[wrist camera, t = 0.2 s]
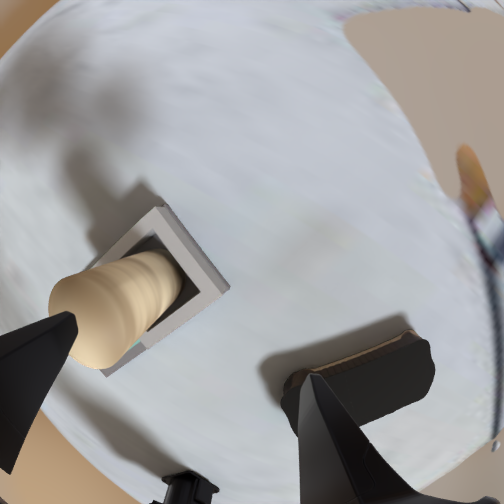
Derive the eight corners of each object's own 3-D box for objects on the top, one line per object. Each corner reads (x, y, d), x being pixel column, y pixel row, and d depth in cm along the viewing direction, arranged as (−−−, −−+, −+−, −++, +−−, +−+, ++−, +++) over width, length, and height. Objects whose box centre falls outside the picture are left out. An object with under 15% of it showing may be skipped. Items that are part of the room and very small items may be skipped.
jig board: (110, 373, 26) (96, 388, 22) (61, 309, 25) (43, 319, 21) (230, 286, 24) (226, 297, 21) (167, 204, 23) (153, 202, 20)
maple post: (157, 313, 23) (90, 382, 12) (124, 270, 23) (36, 309, 11) (197, 282, 23) (144, 342, 11) (162, 236, 23) (80, 255, 11)
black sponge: (294, 426, 26) (298, 447, 23) (277, 372, 25) (279, 393, 22) (420, 378, 26) (434, 393, 22) (419, 320, 25) (436, 332, 21)
